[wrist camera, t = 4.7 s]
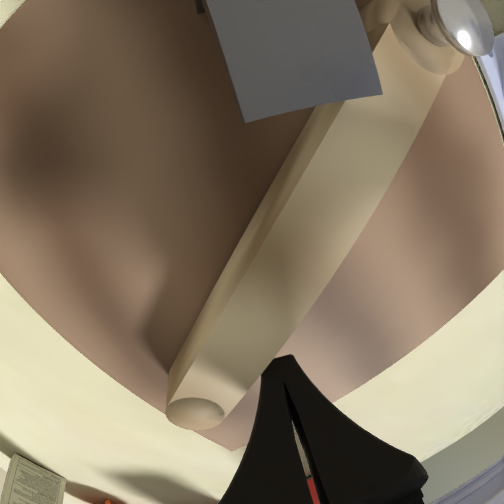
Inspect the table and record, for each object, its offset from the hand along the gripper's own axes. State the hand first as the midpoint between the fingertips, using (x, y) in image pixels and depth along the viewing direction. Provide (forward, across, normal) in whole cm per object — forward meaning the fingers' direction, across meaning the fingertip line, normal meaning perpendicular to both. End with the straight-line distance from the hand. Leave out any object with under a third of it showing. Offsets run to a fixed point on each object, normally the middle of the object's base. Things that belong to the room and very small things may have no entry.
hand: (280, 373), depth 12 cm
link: (+1, -2, -6) cm, 6 cm away
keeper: (+1, -2, -13) cm, 13 cm away
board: (+2, -1, -7) cm, 8 cm away
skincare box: (+3, +27, +14) cm, 30 cm away
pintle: (-1, -7, -12) cm, 14 cm away
